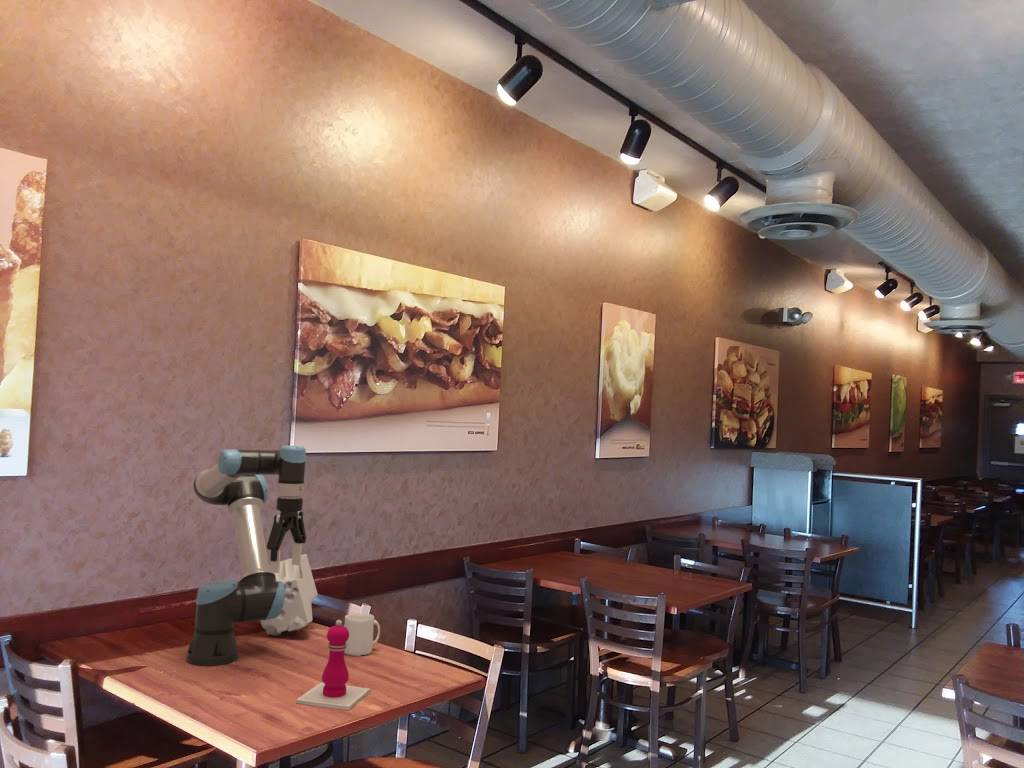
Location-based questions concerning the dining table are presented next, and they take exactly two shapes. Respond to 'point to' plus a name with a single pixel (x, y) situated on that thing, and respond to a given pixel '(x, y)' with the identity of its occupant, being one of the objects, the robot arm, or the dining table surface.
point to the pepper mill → (336, 662)
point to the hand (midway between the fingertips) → (285, 568)
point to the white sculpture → (293, 597)
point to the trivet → (333, 698)
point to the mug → (360, 633)
